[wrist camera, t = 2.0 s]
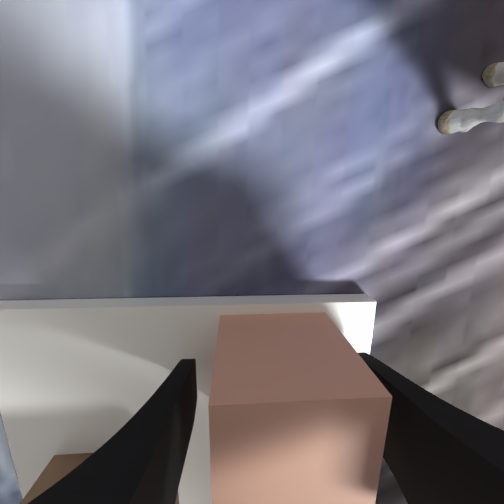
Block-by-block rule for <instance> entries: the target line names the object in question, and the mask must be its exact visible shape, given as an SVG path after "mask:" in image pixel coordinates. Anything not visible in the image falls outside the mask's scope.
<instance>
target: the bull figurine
mask: <svg viewBox="0 0 504 504" xmlns="http://www.w3.org/2000/svg"><path fill="white" fill-rule="evenodd" d="M482 77H483V81H484V83H485V84H486V85H487V86H489V87H495V86H500V85H504V62H498V63H493V64H490V65H489V66H487V68H486V69H485V70H484V72H483V76H482ZM486 121H489V122H497V123H503V122H504V99H503V100H501V101H499V102H497V103H496V104H494V105H491V106H488V107H485V108H471V109H464V110H450V111H446V112H445V113H443V114H442V115H441V116H440V118H439V120H438V130H439V131H440V132H441V133H442V134H451V133H454V132H458V131H461V132H467V131H468V130H470V129H471V128H472V127H474V126H475V125H477V124H479V123H481V122H486Z"/></svg>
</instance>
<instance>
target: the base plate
mask: <svg viewBox="0 0 504 504" xmlns="http://www.w3.org/2000/svg"><path fill="white" fill-rule="evenodd" d="M376 303H377V302H376V301H375V300H374V299H372V298H371V297H370V296H368V295H367V294H319V295H266V296H213V297H159V298H106V299H53V300H0V413H1V417H2V421H3V425H4V429H5V432H6V436H7V440H8V444H9V448H10V452H11V455H12V459H13V463H14V467H15V471H16V474H17V478H18V482H19V486H20V490H21V494H22V497H23V499H24V497H25V496H26V494H27V493H28V491H29V490H30V489H31V487H32V486H33V484H34V483H35V482H36V480H37V479H38V477H39V476H40V474H41V473H42V472H43V470H44V469H45V467H46V466H47V465H48V463H49V462H50V460H51V459H52V458H53V456H54V455H64V454H80V453H94V452H95V451H96V450H98V449H99V448H100V447H101V446H102V445H103V444H105V443H106V442H107V441H108V440H109V439H110V438H111V437H112V436H113V435H115V434H116V433H117V432H118V431H119V430H120V429H121V428H122V427H123V426H124V425H125V424H126V423H127V422H128V421H129V420H130V419H131V418H132V417H133V416H134V415H135V414H136V413H137V412H138V410H139V409H140V408H141V407H142V406H143V405H144V404H145V403H146V402H147V401H148V400H149V398H150V397H151V396H152V395H153V394H154V393H155V391H156V390H157V389H158V388H159V387H160V385H161V384H162V383H163V382H164V381H165V379H166V378H167V377H168V376H169V374H170V373H171V372H172V370H173V369H174V368H175V366H176V365H177V364H178V362H179V361H180V360H181V359H196V379H197V404H196V412H195V419H194V425H193V429H192V434H191V438H190V442H189V446H188V450H187V454H186V459H185V463H184V467H183V471H182V475H181V479H180V483H179V488H178V495H179V504H212V493H211V466H210V438H209V410H208V405H209V397H210V389H211V382H212V374H213V366H214V358H215V351H216V343H217V335H218V327H219V320H220V315H239V314H280V313H322V312H325V313H326V314H327V315H328V317H329V318H330V319H331V320H332V322H333V323H334V324H335V325H336V327H337V328H338V329H339V330H340V332H341V333H342V334H343V335H344V337H345V338H346V339H347V340H348V342H349V343H350V344H351V345H352V347H353V348H354V349H355V350H356V352H357V353H359V352H366V353H368V354H369V355H370V349H371V341H372V333H373V326H374V318H375V310H376Z"/></svg>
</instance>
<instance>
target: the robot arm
mask: <svg viewBox="0 0 504 504" xmlns="http://www.w3.org/2000/svg"><path fill="white" fill-rule="evenodd" d="M358 354H359V355H360V357H361V358H362V359H363V360H364V362H365V363H366V364H367V365H368V367H369V368H370V369H371V370H372V372H373V373H374V374H375V375H376V377H377V378H378V379H379V380H380V382H381V383H382V384H383V385H384V387H385V388H386V389H387V390H388V392H389V393H390V394H391V395H392V402H391V408H390V415H389V421H388V427H387V433H386V440H385V446H384V452H383V457H384V459H385V461H386V463H387V464H388V466H389V468H390V470H391V471H392V473H393V475H394V477H395V479H396V481H397V482H398V484H399V486H400V488H401V490H402V492H403V494H404V496H405V498H406V501H407V503H408V504H504V431H503V430H501V429H499V428H497V427H494V426H492V425H490V424H488V423H486V422H484V421H482V420H480V419H478V418H476V417H474V416H472V415H470V414H468V413H466V412H464V411H462V410H460V409H458V408H456V407H454V406H453V405H451V404H449V403H447V402H445V401H444V400H442V399H440V398H438V397H437V396H435V395H433V394H432V393H430V392H428V391H426V390H425V389H423V388H421V387H420V386H418V385H417V384H415V383H413V382H412V381H410V380H409V379H407V378H405V377H404V376H402V375H401V374H399V373H398V372H396V371H395V370H393V369H391V368H390V367H388V366H387V365H385V364H384V363H382V362H381V361H379V360H377V359H376V358H374V357H373V356H371V355H369V354H368V353H366V352H359V353H358ZM196 404H197V379H196V359H181V360H180V361H179V362H178V364H177V365H176V366H175V368H174V369H173V370H172V372H171V373H170V374H169V376H168V377H167V378H166V379H165V381H164V382H163V383H162V384H161V385H160V387H159V388H158V389H157V390H156V391H155V393H154V394H153V395H152V396H151V397H150V398H149V400H148V401H147V402H146V403H145V404H144V405H143V406H142V407H141V408H140V409H139V410H138V412H137V413H136V414H135V415H134V416H133V417H132V418H131V419H130V420H129V421H128V422H127V423H126V424H125V425H124V426H123V427H122V428H121V429H120V430H119V431H118V432H117V433H116V434H115V435H113V436H112V437H111V438H110V439H109V440H108V441H107V442H106V443H105V444H103V445H102V446H101V447H100V448H99V449H98V450H96V451H95V452H94V453H93V454H92V455H91V456H89V457H88V458H87V459H86V460H85V461H83V462H82V463H81V464H80V465H79V466H77V467H76V468H75V469H73V470H72V471H71V472H70V473H68V474H67V475H66V476H64V477H63V478H62V479H61V480H59V481H58V482H56V483H55V484H54V485H52V486H51V487H50V488H48V489H47V490H46V491H44V492H43V493H42V494H40V495H39V496H37V497H36V498H35V499H33V500H32V501H30V502H29V503H27V504H175V502H176V497H177V492H178V488H179V483H180V479H181V475H182V471H183V467H184V463H185V459H186V454H187V450H188V446H189V442H190V438H191V434H192V429H193V425H194V419H195V412H196Z"/></svg>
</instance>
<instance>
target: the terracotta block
mask: <svg viewBox="0 0 504 504" xmlns="http://www.w3.org/2000/svg"><path fill="white" fill-rule="evenodd" d="M391 402H392V395H391V394H390V393H389V392H388V390H387V389H386V388H385V387H384V385H383V384H382V383H381V382H380V380H379V379H378V378H377V377H376V375H375V374H374V373H373V372H372V370H371V369H370V368H369V367H368V365H367V364H366V363H365V362H364V360H363V359H362V358H361V357H360V355H359V354H358V353H357V352H356V350H355V349H354V348H353V347H352V345H351V344H350V343H349V342H348V340H347V339H346V338H345V337H344V335H343V334H342V333H341V332H340V330H339V329H338V328H337V327H336V325H335V324H334V323H333V322H332V320H331V319H330V318H329V317H328V315H327V314H326V313H325V312H322V313H280V314H239V315H220V320H219V327H218V335H217V343H216V351H215V358H214V366H213V374H212V382H211V389H210V397H209V405H208V410H209V438H210V466H211V493H212V504H375V502H376V496H377V489H378V483H379V477H380V471H381V465H382V458H383V452H384V446H385V440H386V433H387V427H388V421H389V415H390V408H391Z"/></svg>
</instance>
